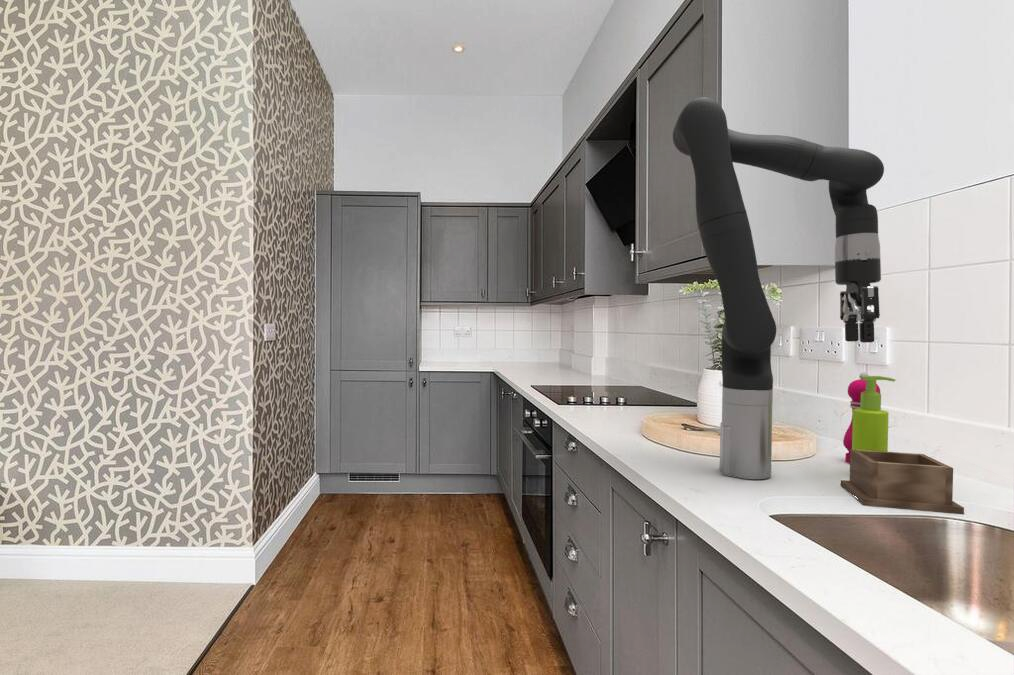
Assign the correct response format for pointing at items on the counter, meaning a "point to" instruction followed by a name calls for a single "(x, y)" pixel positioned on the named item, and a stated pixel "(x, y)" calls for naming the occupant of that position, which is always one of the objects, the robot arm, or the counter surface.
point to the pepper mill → (855, 394)
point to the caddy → (901, 481)
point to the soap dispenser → (870, 419)
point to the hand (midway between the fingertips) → (859, 341)
